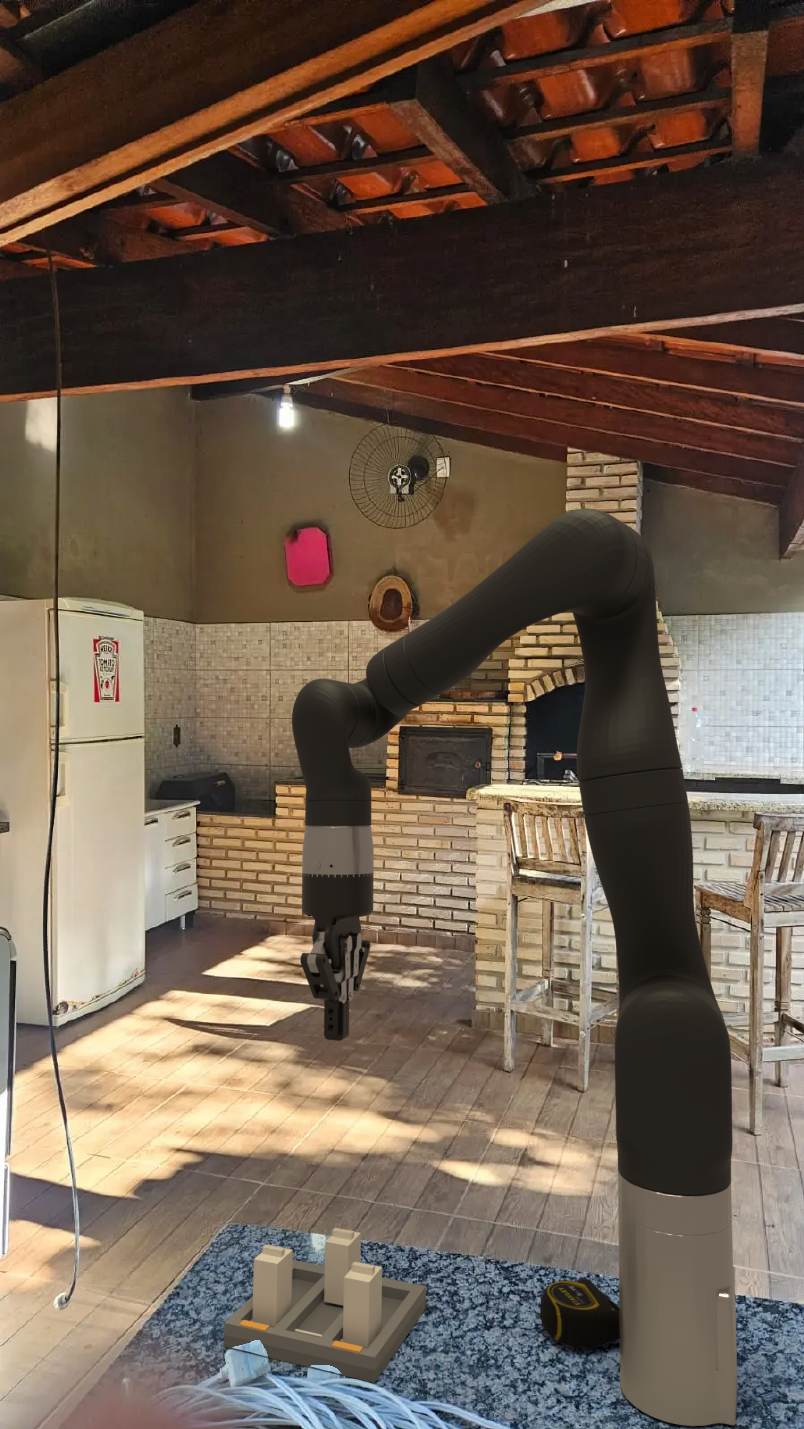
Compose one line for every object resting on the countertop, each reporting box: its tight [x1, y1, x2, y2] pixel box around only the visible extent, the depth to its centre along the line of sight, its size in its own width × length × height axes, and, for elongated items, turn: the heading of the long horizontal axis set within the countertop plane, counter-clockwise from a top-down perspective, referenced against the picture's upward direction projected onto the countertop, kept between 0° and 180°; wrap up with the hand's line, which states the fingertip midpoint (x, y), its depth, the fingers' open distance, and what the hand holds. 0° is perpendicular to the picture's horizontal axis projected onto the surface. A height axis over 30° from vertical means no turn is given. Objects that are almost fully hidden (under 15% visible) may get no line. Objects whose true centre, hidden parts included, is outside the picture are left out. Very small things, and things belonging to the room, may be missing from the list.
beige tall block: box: [343, 1262, 383, 1348], centre depth 85 cm, size 2×3×6 cm
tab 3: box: [252, 1244, 294, 1327], centre depth 88 cm, size 2×3×6 cm
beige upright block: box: [324, 1227, 362, 1306], centre depth 92 cm, size 2×3×6 cm
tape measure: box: [539, 1277, 620, 1350], centre depth 88 cm, size 7×7×4 cm
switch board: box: [223, 1259, 427, 1384], centre depth 88 cm, size 14×13×2 cm
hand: (336, 1038), depth 99 cm, fingers closed
